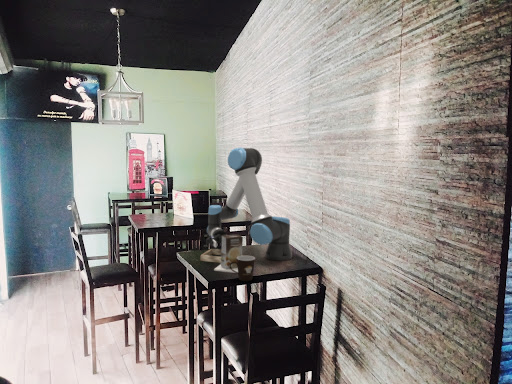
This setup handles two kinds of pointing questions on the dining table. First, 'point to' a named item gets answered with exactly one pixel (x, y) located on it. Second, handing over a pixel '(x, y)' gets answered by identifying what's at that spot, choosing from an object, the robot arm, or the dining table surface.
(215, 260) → the pocket frame
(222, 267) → the white napkin
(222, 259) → the coffee box
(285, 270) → the dining table surface
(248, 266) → the coffee mug
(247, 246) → the dining table surface
